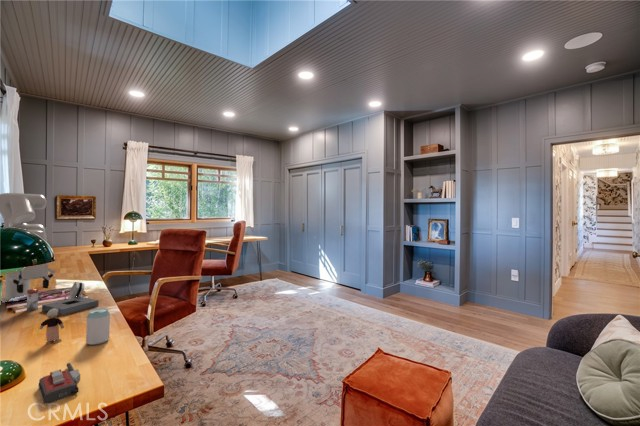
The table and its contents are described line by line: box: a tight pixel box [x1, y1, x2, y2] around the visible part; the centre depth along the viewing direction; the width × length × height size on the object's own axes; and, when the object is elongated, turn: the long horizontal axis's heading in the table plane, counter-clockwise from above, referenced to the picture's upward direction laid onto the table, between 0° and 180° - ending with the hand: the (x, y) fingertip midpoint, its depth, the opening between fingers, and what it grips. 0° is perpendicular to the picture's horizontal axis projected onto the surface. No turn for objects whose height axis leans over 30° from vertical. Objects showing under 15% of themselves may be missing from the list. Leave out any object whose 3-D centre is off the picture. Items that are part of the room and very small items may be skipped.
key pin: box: [26, 288, 39, 312], centre depth 144 cm, size 4×4×10 cm
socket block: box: [41, 296, 99, 317], centre depth 147 cm, size 16×16×3 cm
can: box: [85, 307, 111, 346], centre depth 111 cm, size 7×7×12 cm
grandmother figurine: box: [38, 309, 65, 345], centre depth 110 cm, size 8×4×13 cm, turn 115°
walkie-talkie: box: [38, 362, 81, 405], centre depth 84 cm, size 9×4×20 cm
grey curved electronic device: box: [68, 281, 85, 299], centre depth 164 cm, size 17×5×10 cm, turn 44°
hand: (33, 290), depth 143 cm, fingers open, 9 cm apart
